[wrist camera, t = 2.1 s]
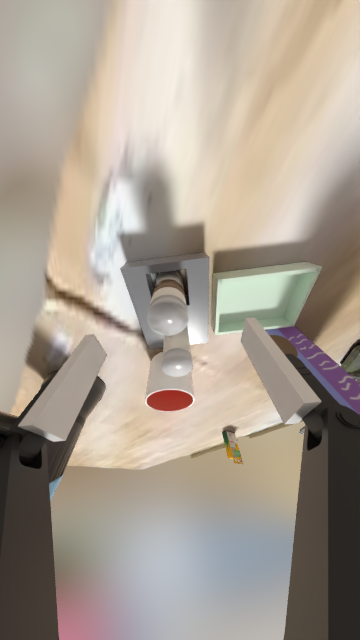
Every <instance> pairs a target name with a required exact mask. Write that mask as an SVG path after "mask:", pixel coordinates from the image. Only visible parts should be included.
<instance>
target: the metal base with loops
mask: <svg viewBox="0 0 360 640" xmlns="http://www.w3.org/2000/svg"><path fill="white" fill-rule="evenodd" d="M341 368H343V369H344V370H345V371H346V372H347V373H348V374H349V375H350V376H352V377H353V378H354V379H356V380H357V382H358V383H359V384H360V345H359V346H357V347H355V348H354V349H353V350H352V352H351V353H350V354H349V356H348V357H347V358H346V360H345V361H344V362H343V364H342V365H341Z"/></svg>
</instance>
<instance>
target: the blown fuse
mask: <svg viewBox="0 0 360 640" xmlns="http://www.w3.org/2000/svg"><path fill="white" fill-rule="evenodd" d="M188 320H189V318H188V312H187V306H186V299H185V293H184V288H183V282H182V277H181V275H180V274H179V273H178V272H177V271H175V270H173V271H165V272H160V273H159V274H158V276H157V280H156V284H155V288H154V291H153V295H152V299H151V303H150V307H149V311H148V314H147V322H148V325H149V327H150V328H151V329H152V330H153V331H155V332H156V333H158V334H161V335H168V336H169V335H175V334H178V333H180V332H182V331H183V330H184V329H185V328H186V326H187V324H188Z"/></svg>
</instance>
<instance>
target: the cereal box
mask: <svg viewBox="0 0 360 640" xmlns="http://www.w3.org/2000/svg"><path fill="white" fill-rule="evenodd" d="M265 331H266V332H267V333H268V335H269V336H270V337H271V338H272V340H273V341H274V342H275V343H276V345H277V346H278V347H279V348H280V350H281V351H282V352H283V353H284V354H293V355H294V356H296V357H297V358H299V359H300V360H301V361H302V362H303V363H304V364H305V366H306V367H307V369H309V370H310V371H311V372H312V375H314V376H315V377H316V378H317V379H318V380H319V382H320V383H321V384H322V385H323V386H324V387H325V388H326V390H327V391H328V392H329V393H330V394H331V395H332V396H333V398H334V399H335V400H336V401H337V402H338V403H339V404H341V405H343V406H346V407H348V408H350V409H352V410H353V411H355V412H356V413H357V414H359V415H360V384H359V383H358V382H357V381H356V380H355V379H354V378H353V377H352V376H350V375H349V374H348V373H347V372H346V371H345V370H344V369H343V368H341V367H340V366H339V365H338V364H337V363H336V362H335V361H333V360H332V359H331V358H330V357H329V356H328V355H327V354H326V353H324V352H323V351H322V350H321V349H320V348H319V347H318V346H317V345H315V344H314V343H313V342H312V341H311V340H310V339H309V338H308V337H306V336H305V335H304V334H303V333H302V332H301V331H300V330H299V329H297V328H296V327H295V326H293V327H284V328H275V329H266V330H265Z"/></svg>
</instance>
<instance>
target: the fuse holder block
mask: <svg viewBox="0 0 360 640" xmlns="http://www.w3.org/2000/svg"><path fill="white" fill-rule="evenodd" d="M181 269H186V281H187V293H188V295H187V296H185V299H186V306H187V312H188V318H189V320H188V324H187V326H186V328H185V329H184V330H183V331H182V332H180V333H178V334H175V335H169V336H168V335H161V334H158V333H156V332H155V331H153V330H152V329H151V328H150V327H149V325H148V322H147V314H148V311H149V307H150V303H151V299H152V295H153V291H154V288H153V283H152V279H151V275H150V273H157V272H165V271H173V270H181ZM121 272H122V275H123V277H124V280H125V283H126V286H127V289H128V291H129V294H130V297H131V300H132V303H133V306H134V308H135V311H136V314H137V317H138V320H139V322H140V325H141V328H142V331H143V334H144V336H145V339H146V342H147V345H148V348H149V349H154V348H163V357H162V371H163V372H164V373H165V374H167V375H169V376H174V377H179V376H184V375H187V374H188V373H190V372H191V371H192V369H193V361H192V355H191V350H190V345H191V344H200V343H208V324H209V256H208V255H207V254H206V253H205V252H202V253H194V254H186V255H178V256H171V257H163V258H155V259H147V260H140V261H132V262H127V263H126V264H125V265H124V266H123V267H122V268H121Z"/></svg>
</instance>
